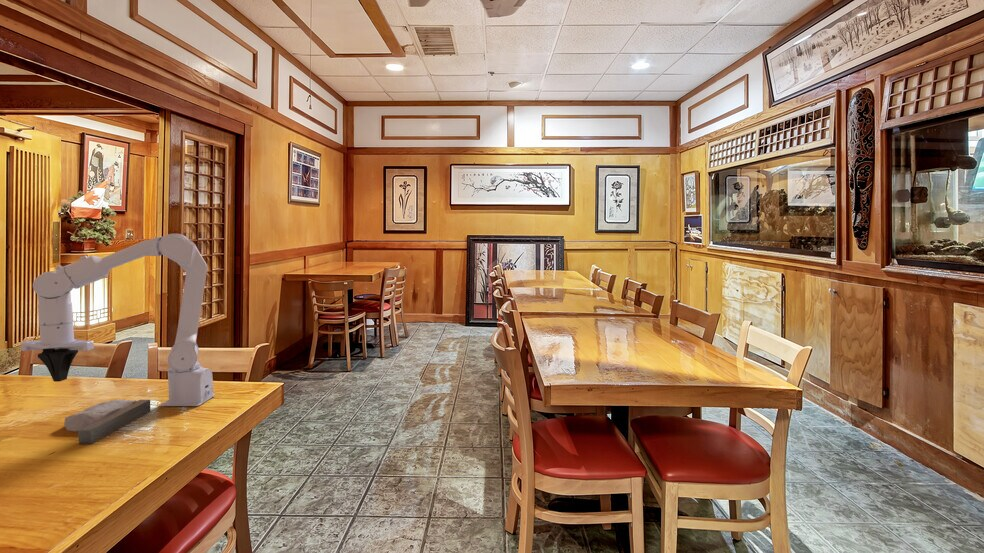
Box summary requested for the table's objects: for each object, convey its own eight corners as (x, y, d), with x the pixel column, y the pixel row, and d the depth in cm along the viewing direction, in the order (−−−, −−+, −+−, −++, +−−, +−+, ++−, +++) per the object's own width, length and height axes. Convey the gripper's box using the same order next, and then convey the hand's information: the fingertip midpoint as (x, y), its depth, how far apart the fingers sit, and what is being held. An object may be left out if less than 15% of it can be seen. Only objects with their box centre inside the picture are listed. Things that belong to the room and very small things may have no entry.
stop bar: (150, 411, 113) (150, 399, 112) (91, 444, 95) (90, 430, 95) (140, 411, 113) (139, 399, 112) (79, 444, 95) (78, 430, 94)
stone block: (59, 439, 101) (104, 431, 101) (54, 418, 101) (99, 410, 101) (104, 420, 113) (144, 412, 113) (100, 401, 113) (140, 394, 113)
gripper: (5, 326, 101) (10, 385, 102) (74, 326, 102) (78, 385, 103) (35, 320, 108) (39, 376, 109) (99, 320, 109) (102, 376, 110)
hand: (60, 380), depth 107 cm, fingers closed
